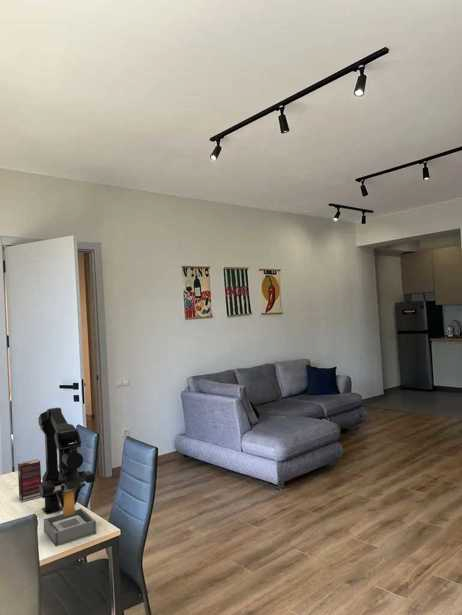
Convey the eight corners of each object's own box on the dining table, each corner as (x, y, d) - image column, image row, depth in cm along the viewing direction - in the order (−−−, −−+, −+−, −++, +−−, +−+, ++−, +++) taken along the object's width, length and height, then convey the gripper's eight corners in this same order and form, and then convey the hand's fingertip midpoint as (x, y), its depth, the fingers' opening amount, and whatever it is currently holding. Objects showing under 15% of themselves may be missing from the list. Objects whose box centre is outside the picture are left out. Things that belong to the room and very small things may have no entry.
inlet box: (44, 531, 164) (43, 518, 165) (82, 519, 173) (81, 508, 173) (55, 546, 152) (55, 533, 153) (96, 533, 161) (95, 520, 161)
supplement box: (39, 494, 202) (38, 458, 203) (42, 497, 198) (40, 461, 199) (18, 499, 197) (17, 463, 197) (21, 502, 193) (19, 465, 194)
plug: (61, 513, 163) (61, 491, 164) (72, 510, 166) (72, 488, 166) (65, 516, 160) (64, 494, 160) (76, 513, 163) (75, 491, 163)
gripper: (46, 474, 151) (48, 520, 151) (100, 461, 163) (101, 505, 162) (38, 466, 160) (39, 510, 160) (89, 455, 172) (91, 496, 171)
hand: (68, 505), depth 163 cm, fingers closed on plug, 4 cm apart
